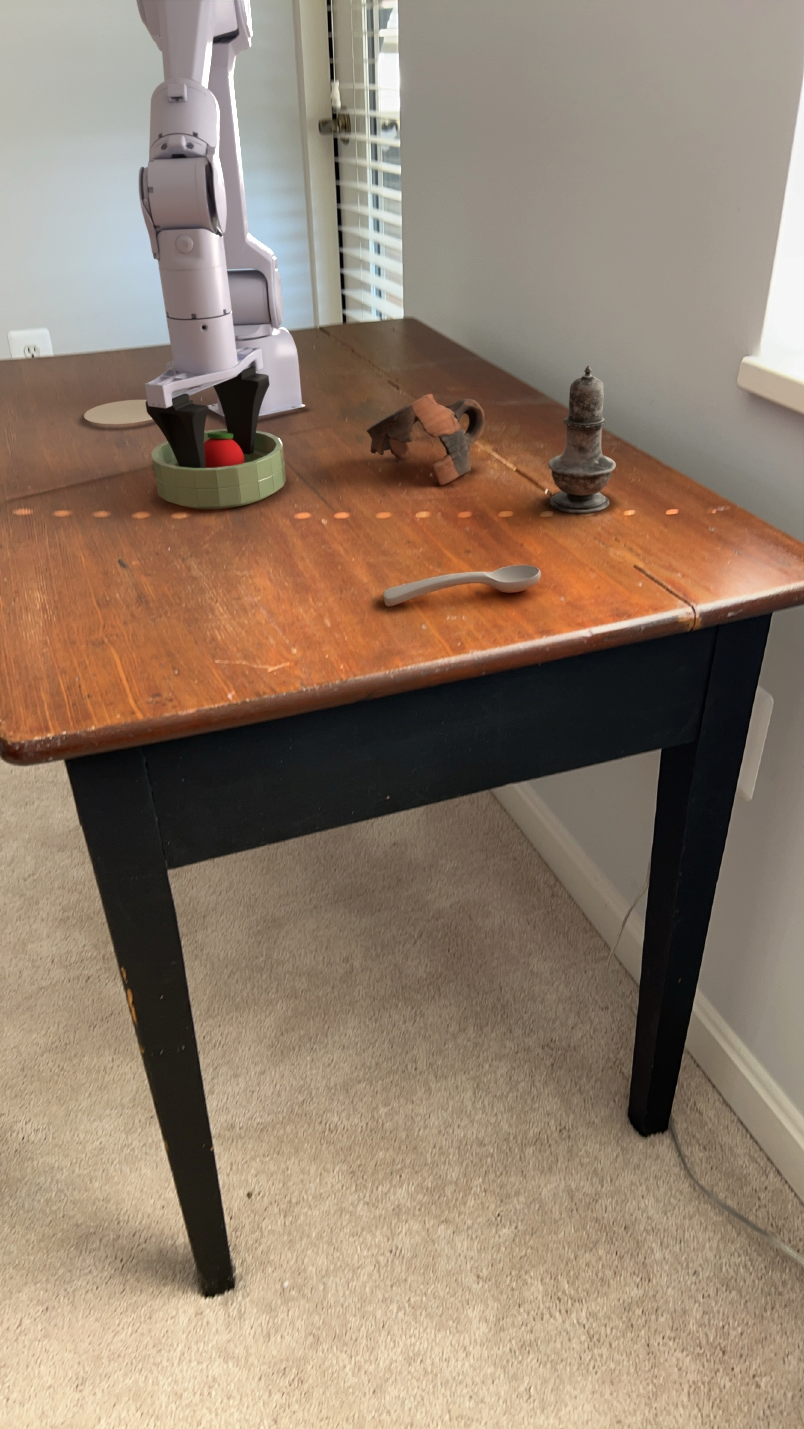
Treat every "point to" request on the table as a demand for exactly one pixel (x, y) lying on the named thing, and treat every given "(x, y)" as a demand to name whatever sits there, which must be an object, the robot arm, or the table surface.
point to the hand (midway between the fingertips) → (219, 464)
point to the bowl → (221, 476)
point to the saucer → (119, 412)
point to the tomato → (222, 450)
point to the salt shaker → (582, 451)
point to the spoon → (467, 582)
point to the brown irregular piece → (432, 433)
